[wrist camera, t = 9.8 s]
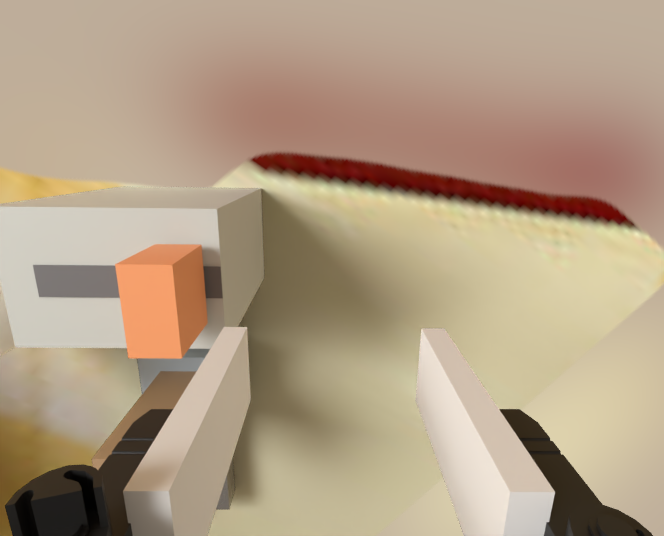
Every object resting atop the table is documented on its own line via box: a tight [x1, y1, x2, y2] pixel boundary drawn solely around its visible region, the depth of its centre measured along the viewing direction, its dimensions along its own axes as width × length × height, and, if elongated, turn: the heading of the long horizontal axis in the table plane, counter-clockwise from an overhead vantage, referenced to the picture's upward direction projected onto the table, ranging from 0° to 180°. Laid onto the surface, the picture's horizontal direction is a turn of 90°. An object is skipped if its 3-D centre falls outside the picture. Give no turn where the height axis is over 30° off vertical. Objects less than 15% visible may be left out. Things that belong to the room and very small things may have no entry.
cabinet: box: [0, 187, 264, 349], centre depth 28 cm, size 12×8×14 cm
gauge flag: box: [115, 244, 208, 359], centre depth 19 cm, size 2×4×4 cm, turn 0°
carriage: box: [92, 349, 210, 470], centre depth 31 cm, size 8×7×14 cm
